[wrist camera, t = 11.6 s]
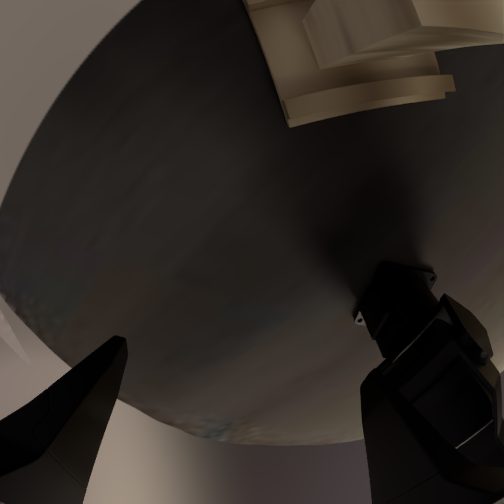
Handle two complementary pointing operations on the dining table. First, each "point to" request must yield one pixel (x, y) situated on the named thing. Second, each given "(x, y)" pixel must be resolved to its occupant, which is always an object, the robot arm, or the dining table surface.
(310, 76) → the wooden tray
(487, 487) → the robot arm
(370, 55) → the wooden block
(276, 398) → the dining table surface
